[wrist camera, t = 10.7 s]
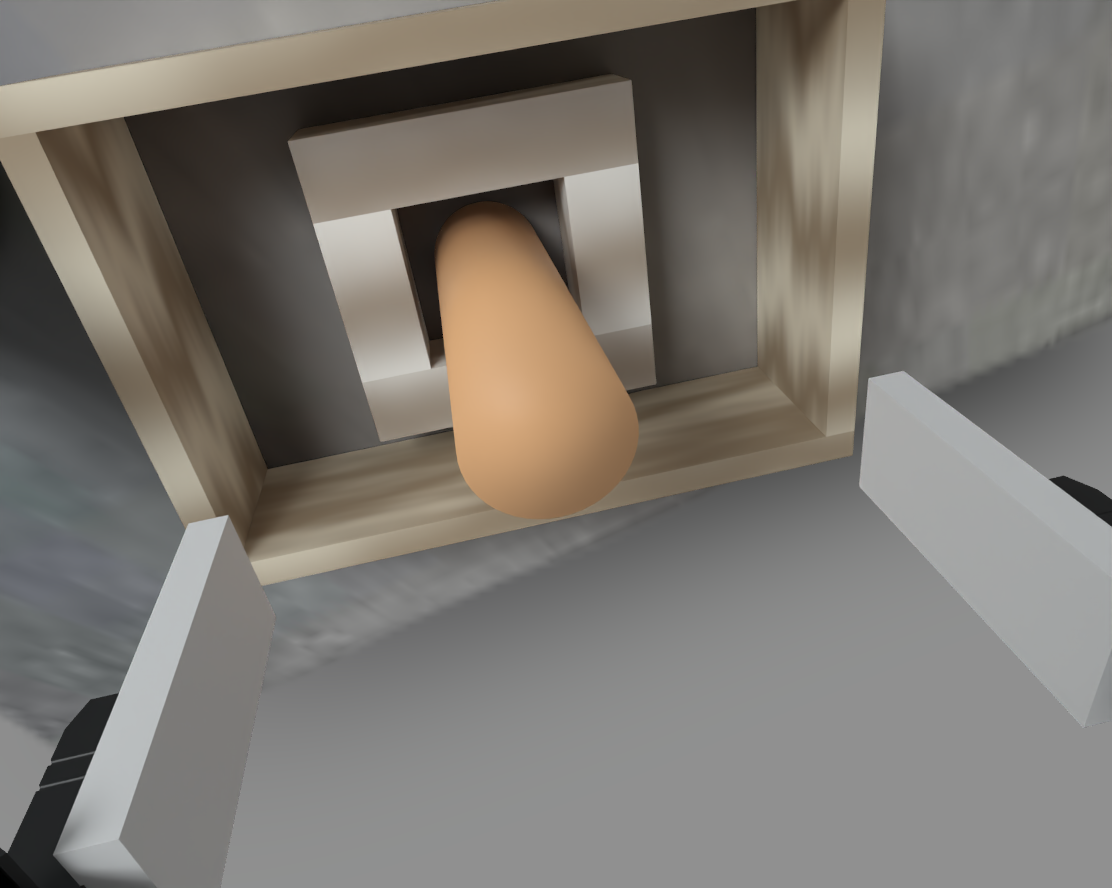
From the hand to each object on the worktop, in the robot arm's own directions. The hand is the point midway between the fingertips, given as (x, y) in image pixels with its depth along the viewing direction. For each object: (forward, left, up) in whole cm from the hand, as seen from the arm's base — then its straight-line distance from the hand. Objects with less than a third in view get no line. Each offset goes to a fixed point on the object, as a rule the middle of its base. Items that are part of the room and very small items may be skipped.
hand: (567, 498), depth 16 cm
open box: (0, 0, -19) cm, 19 cm away
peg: (0, 0, -19) cm, 19 cm away
